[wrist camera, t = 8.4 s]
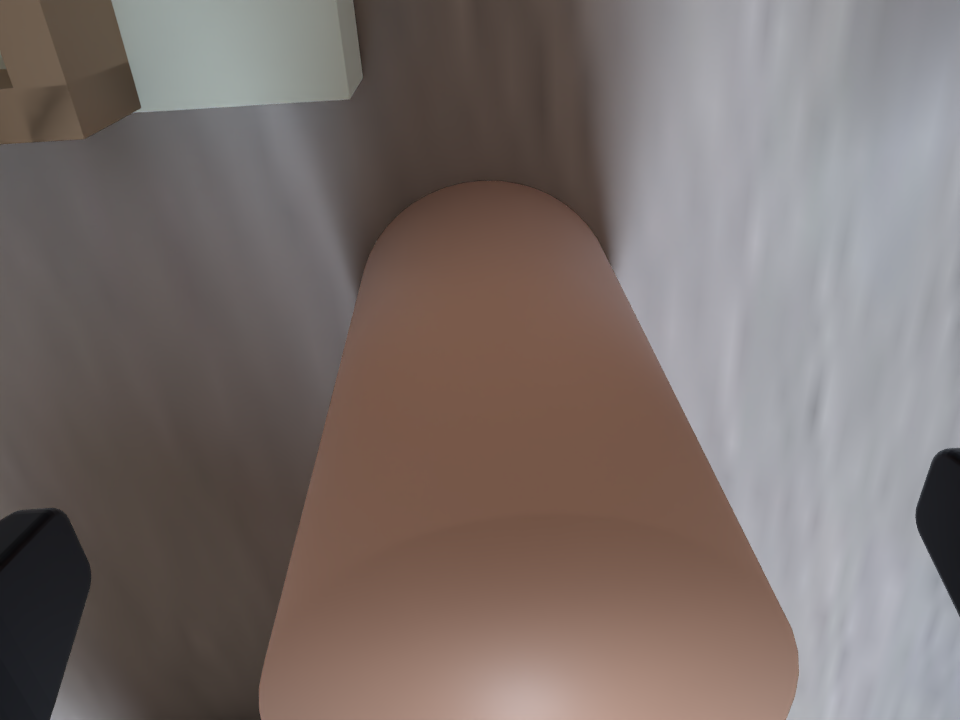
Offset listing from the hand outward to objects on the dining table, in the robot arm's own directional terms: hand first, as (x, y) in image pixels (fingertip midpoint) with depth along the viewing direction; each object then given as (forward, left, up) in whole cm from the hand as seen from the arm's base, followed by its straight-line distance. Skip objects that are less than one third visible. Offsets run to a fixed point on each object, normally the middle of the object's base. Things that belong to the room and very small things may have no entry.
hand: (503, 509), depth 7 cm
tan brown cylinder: (0, 0, -5) cm, 5 cm away
